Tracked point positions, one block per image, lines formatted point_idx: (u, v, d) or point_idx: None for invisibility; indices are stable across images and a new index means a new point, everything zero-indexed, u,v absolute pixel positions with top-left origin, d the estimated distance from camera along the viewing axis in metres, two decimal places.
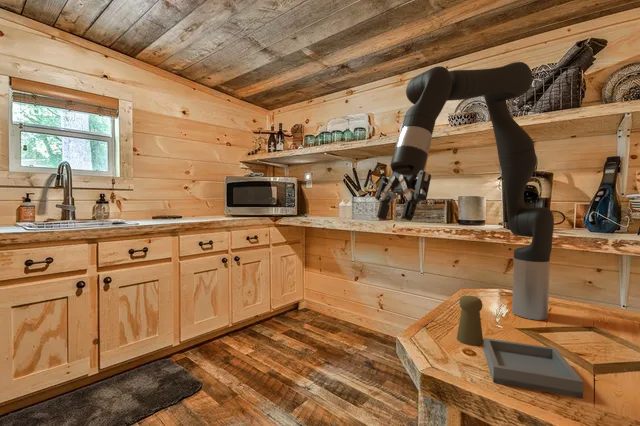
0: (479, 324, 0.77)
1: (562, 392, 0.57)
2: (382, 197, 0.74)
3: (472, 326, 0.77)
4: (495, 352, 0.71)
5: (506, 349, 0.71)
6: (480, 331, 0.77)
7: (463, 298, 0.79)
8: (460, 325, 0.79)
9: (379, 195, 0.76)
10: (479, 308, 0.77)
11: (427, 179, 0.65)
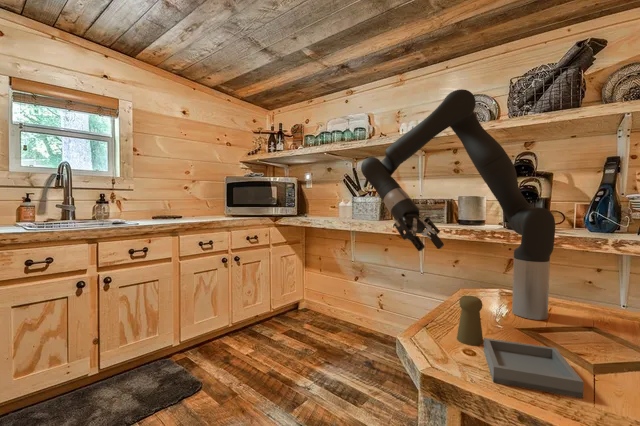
0: (479, 324, 0.77)
1: (562, 392, 0.57)
2: None
3: (472, 326, 0.77)
4: (495, 352, 0.71)
5: (506, 349, 0.71)
6: (480, 331, 0.77)
7: (463, 298, 0.79)
8: (460, 325, 0.79)
9: (431, 234, 0.95)
10: (479, 308, 0.77)
11: (399, 223, 0.89)
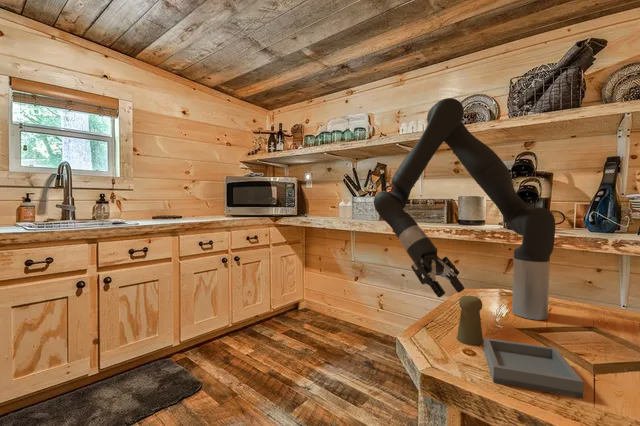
0: (479, 324, 0.77)
1: (562, 392, 0.57)
2: None
3: (472, 326, 0.77)
4: (495, 352, 0.71)
5: (506, 349, 0.71)
6: (480, 331, 0.77)
7: (463, 298, 0.79)
8: (460, 325, 0.79)
9: (450, 275, 0.90)
10: (479, 308, 0.77)
11: (416, 267, 0.84)
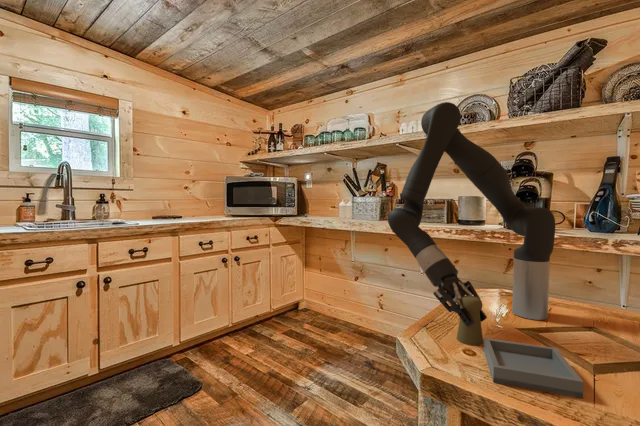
0: (479, 324, 0.77)
1: (562, 392, 0.57)
2: None
3: (472, 326, 0.77)
4: (495, 352, 0.71)
5: (506, 349, 0.71)
6: (480, 331, 0.77)
7: (463, 298, 0.79)
8: (460, 325, 0.79)
9: None
10: (479, 308, 0.77)
11: (441, 294, 0.79)
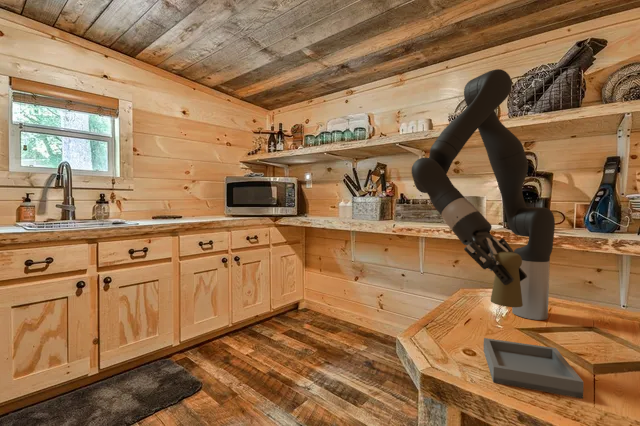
0: (518, 283, 0.67)
1: (562, 392, 0.57)
2: None
3: (511, 285, 0.66)
4: (495, 352, 0.71)
5: (506, 349, 0.71)
6: (519, 291, 0.67)
7: (499, 253, 0.68)
8: (495, 285, 0.69)
9: None
10: (519, 264, 0.66)
11: (473, 249, 0.68)
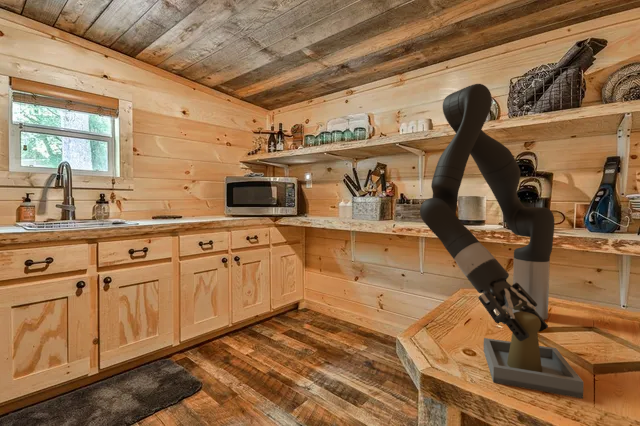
0: (537, 348, 0.63)
1: (562, 392, 0.57)
2: None
3: (530, 350, 0.62)
4: (495, 352, 0.71)
5: (506, 349, 0.71)
6: (539, 356, 0.63)
7: (516, 315, 0.64)
8: (512, 348, 0.64)
9: (524, 307, 0.71)
10: (538, 328, 0.62)
11: (487, 299, 0.64)
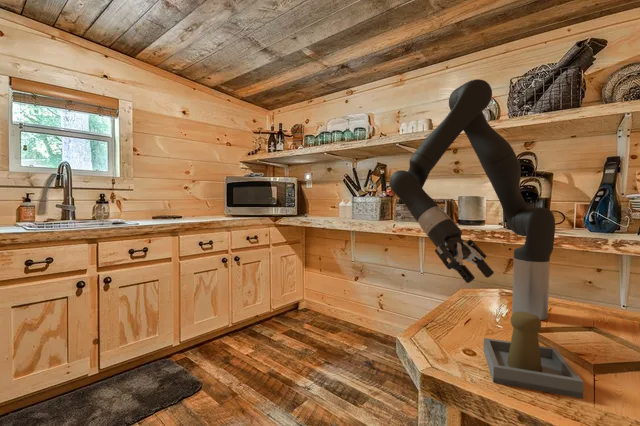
0: (537, 348, 0.63)
1: (562, 392, 0.57)
2: None
3: (530, 350, 0.62)
4: (495, 352, 0.71)
5: (506, 349, 0.71)
6: (539, 356, 0.63)
7: (516, 315, 0.64)
8: (512, 348, 0.64)
9: None
10: (538, 328, 0.62)
11: (441, 250, 0.76)
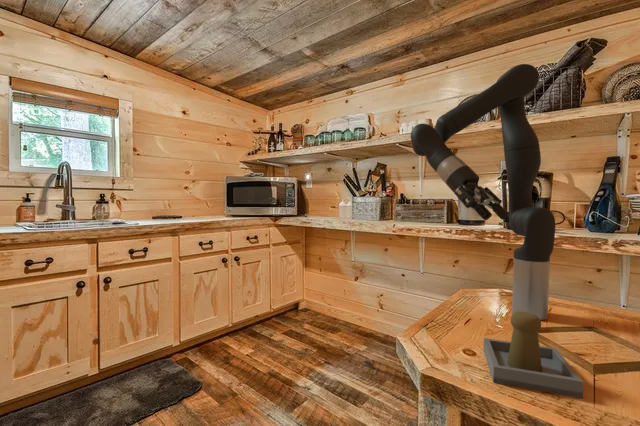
0: (537, 348, 0.63)
1: (562, 392, 0.57)
2: None
3: (530, 350, 0.62)
4: (495, 352, 0.71)
5: (506, 349, 0.71)
6: (539, 356, 0.63)
7: (516, 315, 0.64)
8: (512, 348, 0.64)
9: (491, 205, 0.87)
10: (538, 328, 0.62)
11: (460, 191, 0.81)
